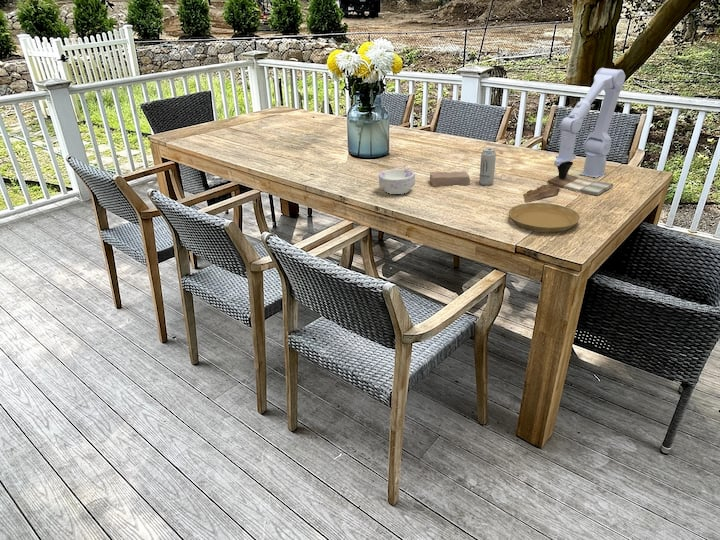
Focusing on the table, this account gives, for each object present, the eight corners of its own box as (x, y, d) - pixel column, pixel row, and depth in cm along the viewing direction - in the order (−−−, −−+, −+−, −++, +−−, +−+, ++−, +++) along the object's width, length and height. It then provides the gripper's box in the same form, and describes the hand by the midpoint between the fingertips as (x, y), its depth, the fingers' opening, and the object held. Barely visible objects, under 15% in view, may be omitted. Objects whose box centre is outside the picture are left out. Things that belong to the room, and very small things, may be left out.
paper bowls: (373, 189, 223) (373, 171, 219) (405, 183, 228) (405, 166, 224) (388, 200, 211) (387, 181, 207) (421, 194, 215) (421, 175, 212)
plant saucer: (509, 208, 198) (510, 200, 197) (576, 212, 191) (577, 204, 190) (506, 233, 178) (507, 224, 176) (581, 239, 171) (582, 229, 170)
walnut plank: (562, 188, 214) (562, 185, 214) (547, 182, 218) (547, 180, 218) (578, 180, 223) (578, 177, 222) (563, 175, 227) (564, 172, 226)
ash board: (579, 180, 222) (579, 177, 222) (595, 183, 218) (595, 180, 217) (563, 188, 214) (563, 185, 213) (579, 192, 209) (579, 189, 209)
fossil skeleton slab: (548, 184, 221) (548, 181, 220) (571, 189, 213) (571, 187, 213) (511, 199, 207) (511, 196, 206) (534, 206, 199) (535, 203, 199)
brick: (466, 179, 230) (466, 169, 228) (470, 185, 223) (470, 175, 221) (429, 181, 230) (429, 171, 228) (432, 187, 223) (432, 177, 221)
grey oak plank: (595, 184, 217) (596, 181, 217) (612, 186, 213) (613, 183, 212) (580, 192, 209) (580, 189, 209) (597, 195, 204) (597, 192, 204)
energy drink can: (476, 184, 223) (478, 150, 216) (484, 180, 227) (486, 147, 220) (488, 187, 219) (491, 152, 212) (496, 183, 223) (499, 149, 216)
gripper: (566, 142, 221) (561, 172, 227) (549, 148, 212) (544, 180, 218) (582, 144, 216) (577, 176, 222) (565, 151, 207) (560, 184, 214)
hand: (562, 178), depth 220 cm, fingers closed, pressing on walnut plank
